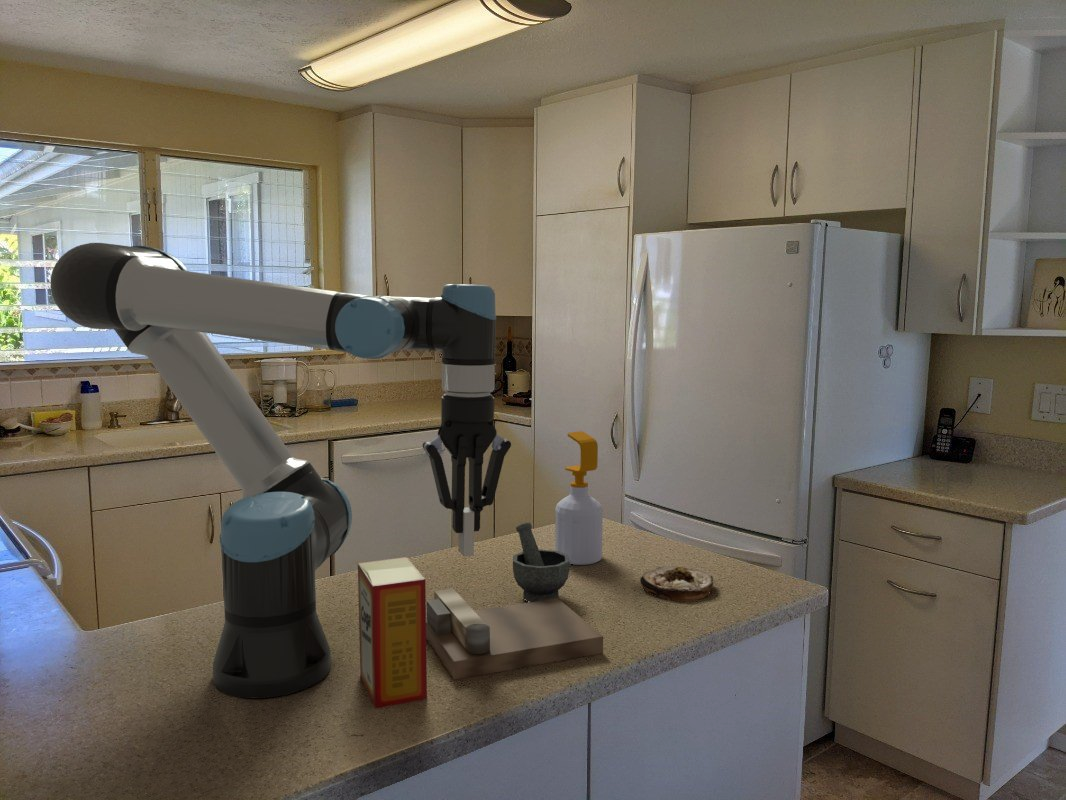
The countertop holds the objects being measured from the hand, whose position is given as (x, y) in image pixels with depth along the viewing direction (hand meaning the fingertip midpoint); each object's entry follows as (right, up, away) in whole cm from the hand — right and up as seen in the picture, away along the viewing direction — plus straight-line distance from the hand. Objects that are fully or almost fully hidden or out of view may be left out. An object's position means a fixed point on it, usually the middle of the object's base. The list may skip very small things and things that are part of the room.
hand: (465, 553), depth 122 cm
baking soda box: (-8, -15, -14) cm, 22 cm away
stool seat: (+7, -13, 0) cm, 15 cm away
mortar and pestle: (+11, -11, +19) cm, 24 cm away
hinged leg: (0, -11, -2) cm, 11 cm away
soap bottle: (+19, -8, +39) cm, 44 cm away
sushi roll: (+35, -11, +23) cm, 43 cm away
